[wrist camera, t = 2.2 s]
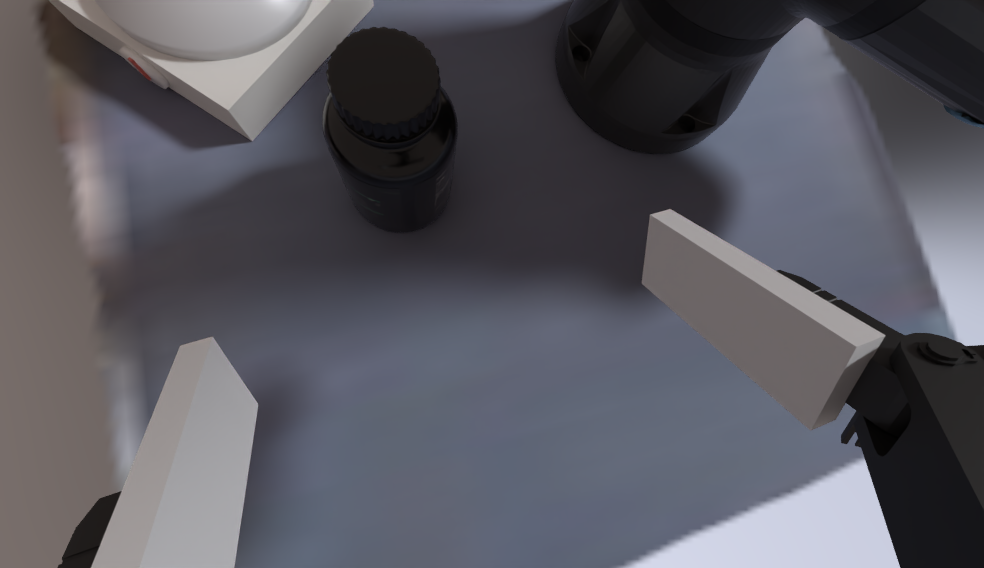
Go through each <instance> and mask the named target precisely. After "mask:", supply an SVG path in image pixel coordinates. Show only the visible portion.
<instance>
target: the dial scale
mask: <svg viewBox="0 0 984 568" xmlns="http://www.w3.org/2000/svg"><path fill="white" fill-rule="evenodd" d="M49 1H50V2H51V3H52V4H53V5H54V6H55V7H56V8H57V9H58V10H59V11H60V12H61V13H62V14H63V15H64V16H65V17H66V18H67V19H68V20H69V21H70V22H71V23H72V24H73V25H74V26H75V27H77V28H78V29H80V30H81V31H83V32H84V33H86V34H88V35H89V36H91V37H92V38H94V39H95V40H97V41H98V42H100V43H101V44H103V45H105V46H106V47H108V48H109V49H111V50H112V51H114V52H115V53H117V54H118V55H120V56H121V57H123V58H124V59H125V60H126V61H127V62H128V63H130V64H131V65H132V66H133V67H134V68H135V69H136V70H138V71H139V72H140V73H141V74H143V76H144V77H145V78H146V79H148V80H149V81H152V82H153V83H155V84H156V85H158V86H159V87H161V88H163V89H166V88H167V87H169V88H171V89H172V90H174V91H175V92H177V93H178V94H180V95H182V96H183V97H185V98H186V99H188V100H189V101H191V102H192V103H194V104H195V105H197V106H199V107H200V108H202V109H203V110H205V111H206V112H208V113H209V114H211V115H212V116H214V117H215V118H217V119H219V120H220V121H222V122H223V123H225V124H226V125H228V126H229V127H231V128H232V129H234V130H236V131H237V132H239V133H240V134H242V135H243V136H245V137H246V138H248V139H249V140H251V141H253V140H254V139H255V138H256V137H257V136H258V135H259V134H260V132H261V131H262V130H263V129H264V128H265V127H266V126H267V125H268V123H269V122H270V121H271V120H272V119H273V118H274V117H275V116H276V115H277V113H278V112H279V111H280V110H281V109H282V108H283V107H284V106H285V105H286V103H287V102H288V101H289V100H290V99H291V98H292V97H293V96H294V95H295V93H296V92H297V91H298V90H299V89H300V88H301V87H302V86H303V85H304V83H305V82H306V81H307V80H308V79H309V78H310V77H311V76H312V75H313V73H314V72H315V71H316V70H317V69H318V68H319V67H320V66H321V64H322V63H323V62H324V61H325V60H326V59H327V58H328V57H329V56H330V54H331V53H332V52H333V51H334V50H335V49H336V46H337V45H338V44H340V43H341V42H342V41H343V39H344V38H346V37H347V36H348V34H349V33H350V32H351V31H352V30H353V29H354V28H355V27H356V26H357V24H358V23H359V22H360V21H361V20H362V19H363V18H364V17H365V16H366V14H367V13H368V12H369V11H370V10H371V9H372V8H373V7H374V4H373V0H49Z"/></svg>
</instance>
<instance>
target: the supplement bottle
mask: <svg viewBox="0 0 984 568" xmlns="http://www.w3.org/2000/svg"><path fill="white" fill-rule="evenodd" d="M328 67H329V68H328V70H327V77H328V87H329V90H330V93H329V95H328V97H327V99H326V102H325V105H324V109H323V117H322V126H323V133H324V137H325V140H326V143H327V146H328V148H329V151H330V153H331V155H332V157H333V160H334V162H335V164H336V166H337V168H338V171H339V173H340V175H341V177H342V179H343V182H344V184H345V186H346V188H347V190H348V193H349V195H350V197H351V199H352V201H353V203H354V205H355V207H356V208H357V210H358V211H359V212H360V214H361V215H362V216H363V217H364V218H365V219H366V220H367V221H369V222H370V223H371V224H373V225H375V226H376V227H379V228H381V229H383V230H387V231H391V232H399V233H404V232H412V231H416V230H419V229H422V228H424V227H426V226H427V225H429V224H431V223H432V222H433V221H434V220H436V219H437V218H438V217H439V216H440V214H441V213H442V212H443V210H444V208H445V206H446V204H447V201H448V199H449V194H450V189H451V181H452V174H453V166H454V158H455V150H456V142H457V117H456V113H455V110H454V106H453V104H452V102H451V100H450V98H449V96H448V95H447V93H446V92H445V90H444V89H443V88H442V87H441V85H440V83H441V80H440V76H439V68H438V66H437V65H436V60H435V58H434V57H433V56H432V55H431V52H430V50H428V49H427V48H425V46H424V44H423V43H422V42H420V41H418V40H417V39H416V38H415V37H414V36H410V35H408V34H407V33H406V32H403V31H398V30H397V29H388V28H386V27H381V28H376V27H372V28H370V29H362V30H360V31H359V32H354V33H352V34H351V35H350V36H349V37H346V38H344V39H343V41H342V43H340V44H338V45H337V46H336V50H335V51H333V52H332V53H331V59H330V60H329V62H328Z"/></svg>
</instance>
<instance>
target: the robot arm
mask: <svg viewBox="0 0 984 568" xmlns="http://www.w3.org/2000/svg"><path fill="white" fill-rule="evenodd" d="M804 18H809V19H811V20H812V21H814V22H816V23H817V24H818V25H821V26H822V27H824V28H825V29H827V30H829V31H830V32H832V33H833V34H835V35H837V36H838V37H839V38H841V39H842V40H843V41H845V42H847V43H848V44H850V45H851V46H853V47H854V48H856V49H858V50H859V51H861V52H862V53H864V54H865V55H867V56H868V57H870V58H872V59H873V60H875V61H876V62H878V63H879V64H881V65H883V66H884V67H886V68H887V69H889V70H890V71H892V72H893V73H895V74H897V75H898V76H900V77H901V78H903V79H904V80H906V81H907V82H909V83H911V84H912V85H914V86H915V87H917V88H918V89H920V90H922V91H923V92H925V93H926V94H928V95H929V96H931V97H933V98H934V99H936V100H937V101H939V102H940V103H942V104H943V105H944V108H945V109H946V111H947V112H948V113H950V114H951V115H953V116H954V117H955V118H957V119H959V120H961V121H963V122H965V123H967V124H970V125H973V126H976V127H982V128H984V0H574V1H573V3H572V4H571V6H570V8H569V11H568V13H567V15H566V18H565V20H564V23H563V25H562V28H561V30H560V33H559V36H558V40H557V46H556V67H557V72H558V77H559V80H560V83H561V86H562V88H563V91H564V93H565V95H566V97H567V99H568V100H569V102H570V104H571V105H572V107H573V108H574V109H575V111H576V112H577V113H578V115H579V116H580V117H581V118H582V119H583V120H584V121H585V122H586V123H587V124H588V125H589V126H590V127H591V128H593V129H594V130H595V131H596V132H598V133H599V134H600V135H602V136H603V137H605V138H607V139H608V140H610V141H612V142H614V143H616V144H618V145H620V146H623V147H625V148H628V149H632V150H635V151H639V152H645V153H655V154H663V153H672V152H677V151H681V150H684V149H687V148H690V147H692V146H694V145H696V144H698V143H699V142H701V141H702V140H704V139H705V138H706V137H707V136H709V135H710V134H711V133H712V132H713V131H715V130H716V129H717V128H718V127H720V126H721V125H722V124H723V123H724V122H725V121H726V120H727V119H728V118H729V117H730V116H731V114H732V113H733V112H734V111H735V109H736V108H737V106H738V105H739V103H740V101H741V100H742V98H743V96H744V94H745V93H746V91H747V89H748V88H749V86H750V84H751V82H752V81H753V79H754V77H755V76H756V74H757V72H758V70H759V69H760V67H761V65H762V64H763V62H764V60H765V58H766V57H767V55H768V53H769V52H770V50H771V48H772V47H773V46H774V45H775V44H776V43H777V42H778V41H779V40H780V39H781V38H782V37H783V36H784V35H785V34H786V33H788V32H789V31H790V30H791V29H792V28H793V27H794V26H795V25H796V24H798V23H799V22H800V21H801V20H803V19H804ZM642 284H643V285H644V286H645V287H646V288H647V289H649V290H650V291H651V292H652V293H653V294H654V295H655V296H657V297H658V298H659V299H660V300H661V301H662V302H663V303H665V304H666V305H667V306H668V307H669V308H670V309H671V310H673V311H674V312H675V313H676V314H677V315H678V316H680V317H681V318H682V319H683V320H684V321H685V322H686V323H688V324H689V325H690V326H691V327H692V328H693V329H694V330H696V331H697V332H698V333H699V334H700V335H701V336H703V337H704V338H705V339H706V340H707V341H708V342H709V343H711V344H712V345H713V346H714V347H715V348H716V349H717V350H719V351H720V352H721V353H722V354H723V355H724V356H725V357H727V358H728V359H729V360H730V361H731V362H732V363H734V364H735V365H736V366H737V367H738V368H739V369H740V370H742V371H743V372H744V373H745V374H746V375H747V376H748V377H750V378H751V379H752V380H753V381H754V382H755V383H757V384H758V385H759V386H760V387H761V388H762V389H763V390H765V391H766V392H767V393H768V394H769V395H770V396H771V397H773V398H774V399H775V400H776V401H777V402H778V403H780V404H781V405H782V406H783V407H784V408H785V409H786V410H788V411H789V412H790V413H791V414H792V415H793V416H794V417H796V418H797V419H798V420H799V421H800V422H801V423H802V424H804V425H805V426H806V427H807V428H808V429H809V430H813V429H815V428H818V427H820V426H822V425H824V424H827V423H829V422H831V421H833V420H836V418H837V416H838V415H839V413H840V411H841V410H842V408H843V406H844V405H845V403H847V404H848V405H850V406H851V407H852V408H854V409H855V410H856V413H855V414H854V416H853V417H852V419H851V420H850V422H849V424H848V425H847V427H846V428H845V430H844V432H843V433H842V435H841V443H844V444H847V443H848V442H849V440H850V439H851V437H852V436H853V434H854V432H856V433H857V436H858V440H857V441H856V443H855V446H858V447H861V448H862V451H863V454H864V457H865V460H866V463H867V466H868V470H869V472H870V475H871V479H872V482H873V485H874V488H875V491H876V494H877V497H878V500H879V503H880V506H881V509H882V512H883V515H884V519H885V521H886V525H887V528H888V531H889V534H890V537H891V540H892V543H893V546H894V549H895V552H896V555H897V559H898V562H899V565H900V567H901V568H984V345H978V346H965V345H963V344H962V343H959V342H957V341H954V340H952V339H949V338H947V337H943V336H939V335H934V334H930V333H913V334H909V335H903V334H901V333H899V332H897V331H895V330H893V329H892V328H890V327H888V326H886V325H885V324H883V323H881V322H879V321H878V320H876V319H874V318H872V317H871V316H869V315H867V314H865V313H864V312H862V311H860V310H858V309H857V308H855V307H853V306H851V305H849V304H848V303H846V302H844V301H842V300H837V297H835V296H834V295H832V294H830V293H828V292H827V291H822V290H821V288H820V287H818V286H816V285H814V284H813V283H811V282H809V281H807V280H806V279H804V278H802V277H799V276H796V275H793V274H790V273H787V272H784V271H781V270H778V271H775V270H773V269H772V268H770V267H768V266H767V265H765V264H763V263H761V262H760V261H758V260H756V259H755V258H753V257H751V256H750V255H748V254H746V253H744V252H743V251H741V250H739V249H738V248H736V247H734V246H733V245H731V244H729V243H727V242H726V241H724V240H722V239H721V238H719V237H717V236H715V235H714V234H712V233H710V232H709V231H707V230H705V229H704V228H702V227H700V226H698V225H697V224H695V223H693V222H692V221H690V220H688V219H687V218H685V217H683V216H681V215H680V214H678V213H676V212H675V211H673V210H671V209H668V210H665V211H661V212H657V213H654V214H650V219H649V227H648V235H647V243H646V251H645V259H644V268H643V276H642ZM257 411H258V403H257V402H256V400H255V399H254V397H253V396H252V394H251V393H250V391H249V390H248V388H247V387H246V385H245V384H244V382H243V381H242V379H241V378H240V377H239V375H238V374H237V372H236V371H235V369H234V368H233V366H232V365H231V363H230V362H229V360H228V359H227V357H226V356H225V354H224V353H223V351H222V350H221V348H220V347H219V345H218V344H217V342H216V341H215V340H214V338H213V337H209V338H205V339H202V340H198V341H195V342H191V343H188V344H184V345H180V347H179V350H178V352H177V355H176V357H175V360H174V362H173V365H172V367H171V370H170V372H169V375H168V377H167V380H166V382H165V385H164V387H163V390H162V392H161V395H160V397H159V400H158V402H157V405H156V407H155V410H154V412H153V415H152V417H151V420H150V422H149V425H148V427H147V430H146V432H145V435H144V437H143V440H142V442H141V445H140V447H139V449H138V452H137V454H136V457H135V459H134V462H133V464H132V467H131V469H130V472H129V474H128V477H127V479H126V482H125V484H124V487H123V489H122V491H121V492H118V493H115V494H112V495H109V496H106V497H103V498H100V499H99V500H98V501H97V502H96V503H95V505H94V506H93V507H92V509H91V510H90V511H89V512H88V514H87V515H86V516H85V518H84V519H83V520H82V521H81V522H80V524H79V525H78V526H77V527H76V529H75V531H74V533H73V535H72V538H71V540H70V542H69V544H68V546H67V548H66V551H65V553H64V555H63V557H62V560H63V562H62V564H60V565H59V566H58V568H234V566H235V559H236V552H237V545H238V539H239V532H240V525H241V518H242V512H243V505H244V498H245V492H246V485H247V478H248V471H249V465H250V458H251V451H252V444H253V438H254V431H255V424H256V417H257Z"/></svg>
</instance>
